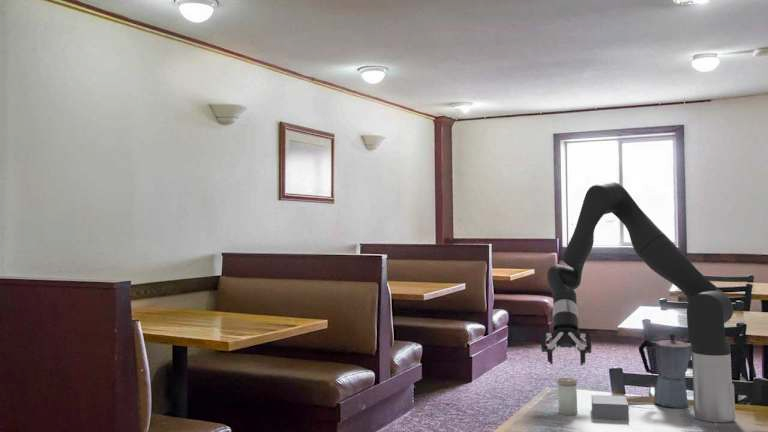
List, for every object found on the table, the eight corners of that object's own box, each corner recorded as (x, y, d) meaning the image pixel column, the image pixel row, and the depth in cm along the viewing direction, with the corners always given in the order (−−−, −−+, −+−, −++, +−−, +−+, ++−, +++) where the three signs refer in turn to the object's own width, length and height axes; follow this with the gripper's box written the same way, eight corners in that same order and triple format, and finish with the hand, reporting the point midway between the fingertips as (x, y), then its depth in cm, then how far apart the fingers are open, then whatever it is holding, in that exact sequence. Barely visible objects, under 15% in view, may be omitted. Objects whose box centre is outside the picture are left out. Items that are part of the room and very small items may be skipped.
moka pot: (703, 409, 182) (700, 337, 183) (644, 408, 185) (641, 336, 186) (694, 400, 192) (691, 331, 192) (638, 399, 195) (635, 331, 195)
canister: (577, 410, 185) (576, 378, 185) (577, 415, 180) (576, 382, 180) (558, 409, 186) (557, 377, 187) (558, 414, 181) (557, 381, 182)
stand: (625, 410, 183) (625, 396, 184) (628, 419, 175) (628, 404, 175) (591, 409, 186) (591, 394, 186) (593, 418, 177) (592, 403, 177)
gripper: (540, 310, 202) (540, 355, 191) (589, 310, 198) (592, 356, 187) (542, 325, 207) (541, 369, 196) (589, 325, 203) (592, 371, 192)
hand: (566, 363), depth 191 cm, fingers open, 8 cm apart
